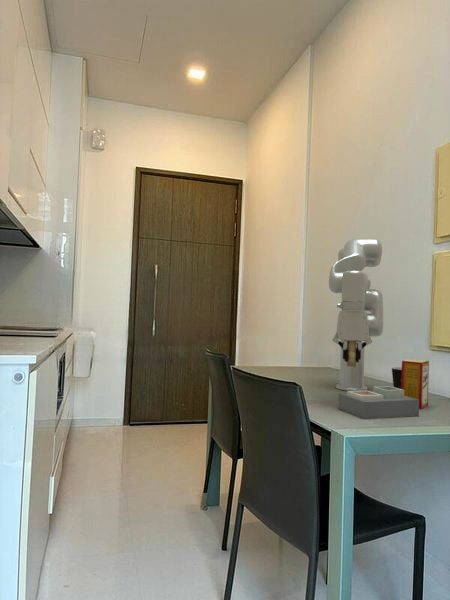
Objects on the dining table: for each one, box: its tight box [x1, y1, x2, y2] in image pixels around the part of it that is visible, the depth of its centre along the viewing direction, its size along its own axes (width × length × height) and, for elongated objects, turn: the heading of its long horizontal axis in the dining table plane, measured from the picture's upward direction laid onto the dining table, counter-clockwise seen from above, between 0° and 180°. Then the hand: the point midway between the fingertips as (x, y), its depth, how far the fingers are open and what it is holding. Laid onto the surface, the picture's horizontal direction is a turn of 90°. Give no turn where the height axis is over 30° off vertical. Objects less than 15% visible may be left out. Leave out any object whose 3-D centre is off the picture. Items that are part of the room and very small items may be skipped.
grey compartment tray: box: [337, 385, 420, 420], centre depth 143 cm, size 14×20×8 cm
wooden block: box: [347, 341, 357, 367], centre depth 151 cm, size 3×3×10 cm
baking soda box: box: [401, 358, 430, 410], centre depth 155 cm, size 10×6×16 cm
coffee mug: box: [391, 366, 402, 389], centre depth 177 cm, size 12×9×10 cm
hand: (351, 361), depth 151 cm, fingers closed on wooden block, 3 cm apart
